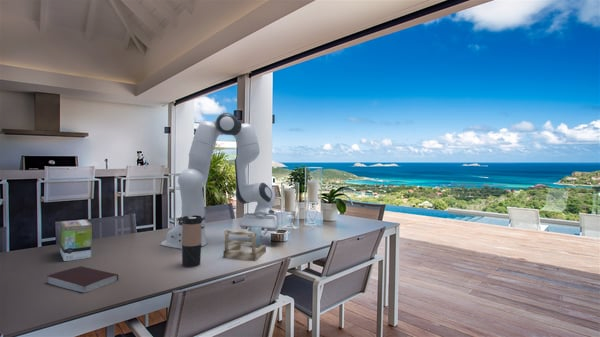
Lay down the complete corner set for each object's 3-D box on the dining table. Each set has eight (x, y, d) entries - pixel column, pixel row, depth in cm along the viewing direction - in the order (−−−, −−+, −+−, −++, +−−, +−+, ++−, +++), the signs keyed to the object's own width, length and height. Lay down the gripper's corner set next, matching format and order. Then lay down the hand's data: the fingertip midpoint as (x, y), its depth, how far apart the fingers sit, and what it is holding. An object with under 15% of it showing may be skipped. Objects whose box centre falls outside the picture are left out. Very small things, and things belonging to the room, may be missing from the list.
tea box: (92, 257, 141) (92, 223, 141) (63, 262, 135) (63, 226, 134) (86, 249, 153) (86, 218, 152) (59, 253, 146) (59, 220, 146)
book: (82, 273, 124) (82, 264, 124) (118, 281, 117) (118, 272, 117) (46, 284, 113) (46, 275, 112) (84, 294, 105) (84, 284, 105)
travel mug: (194, 268, 132) (195, 219, 131) (177, 266, 133) (178, 217, 133) (204, 262, 139) (205, 215, 139) (187, 260, 141) (188, 214, 140)
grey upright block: (248, 247, 164) (249, 227, 164) (252, 244, 169) (252, 225, 169) (259, 248, 163) (259, 228, 162) (262, 245, 168) (263, 226, 168)
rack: (223, 257, 147) (223, 231, 146) (236, 248, 161) (237, 224, 161) (254, 260, 143) (255, 233, 143) (265, 251, 158) (266, 226, 158)
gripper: (242, 209, 174) (234, 231, 165) (279, 211, 170) (273, 234, 161) (245, 216, 179) (238, 238, 170) (281, 218, 175) (275, 241, 165)
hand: (255, 236), depth 165 cm, fingers closed on grey upright block, 5 cm apart
